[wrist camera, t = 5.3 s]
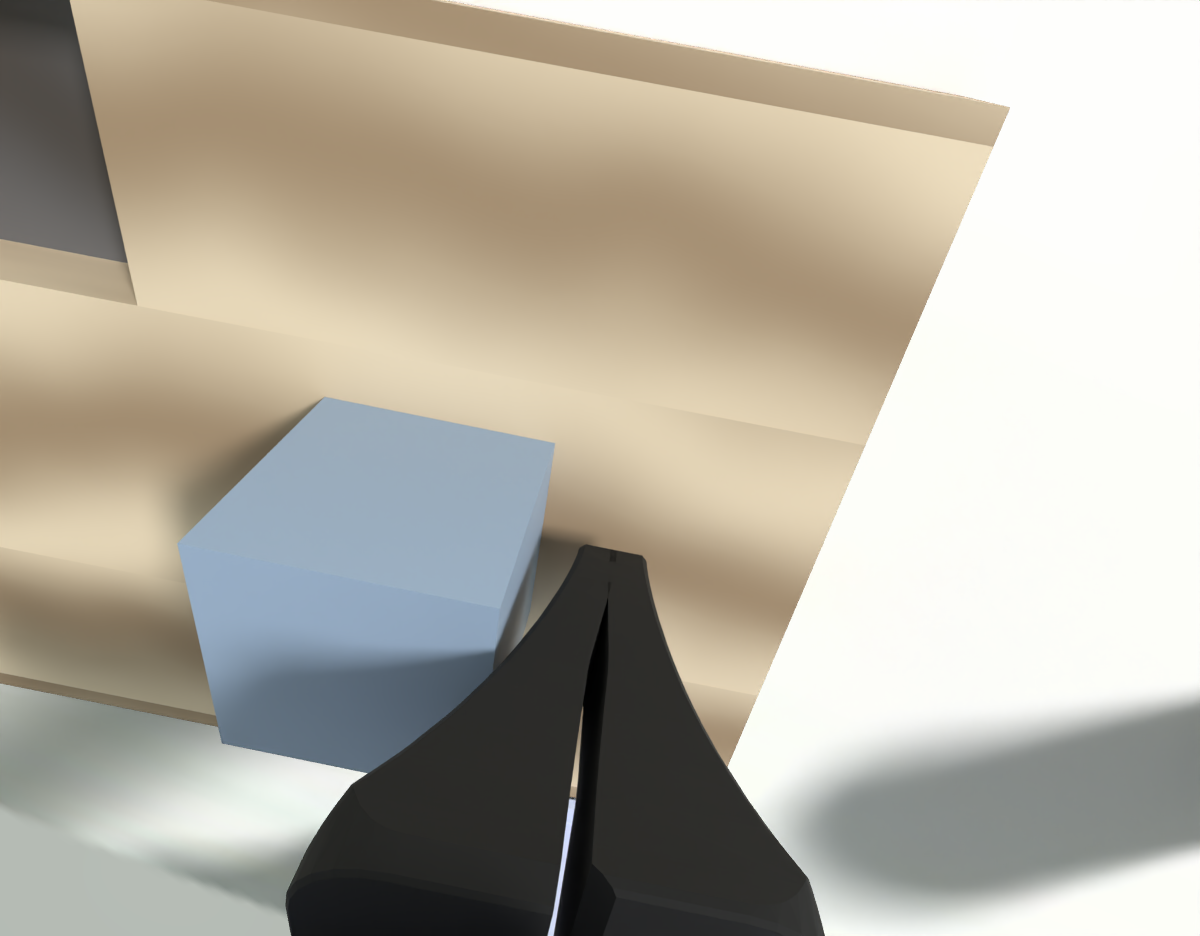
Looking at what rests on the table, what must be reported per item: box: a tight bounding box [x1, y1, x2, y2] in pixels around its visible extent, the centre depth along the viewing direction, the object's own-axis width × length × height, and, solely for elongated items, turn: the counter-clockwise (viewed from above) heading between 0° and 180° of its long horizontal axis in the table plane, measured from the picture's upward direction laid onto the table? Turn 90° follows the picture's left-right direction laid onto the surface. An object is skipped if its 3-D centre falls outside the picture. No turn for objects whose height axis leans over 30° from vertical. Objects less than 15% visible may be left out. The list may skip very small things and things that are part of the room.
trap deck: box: [0, 0, 1010, 798], centre depth 14 cm, size 18×25×4 cm
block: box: [177, 397, 555, 773], centre depth 13 cm, size 4×4×4 cm
